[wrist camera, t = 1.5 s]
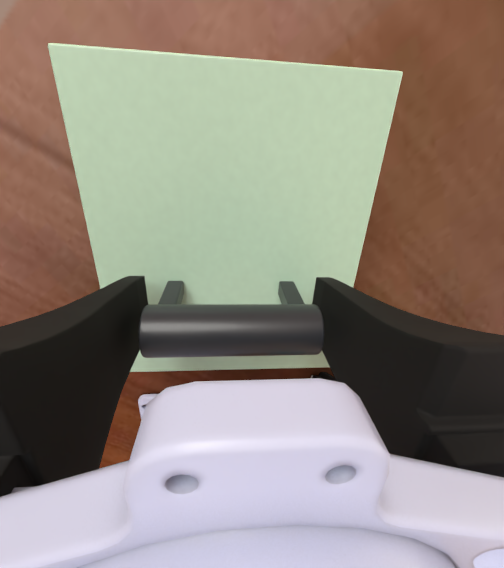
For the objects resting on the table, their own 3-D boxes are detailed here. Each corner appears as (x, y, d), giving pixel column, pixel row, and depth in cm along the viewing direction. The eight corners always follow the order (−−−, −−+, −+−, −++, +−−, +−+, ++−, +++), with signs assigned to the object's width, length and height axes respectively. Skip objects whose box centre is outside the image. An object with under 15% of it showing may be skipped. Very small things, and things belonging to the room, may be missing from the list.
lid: (330, 358, 16) (369, 438, 12) (123, 362, 15) (80, 452, 11) (392, 75, 10) (517, 23, 6) (59, 49, 9) (-96, -39, 5)
